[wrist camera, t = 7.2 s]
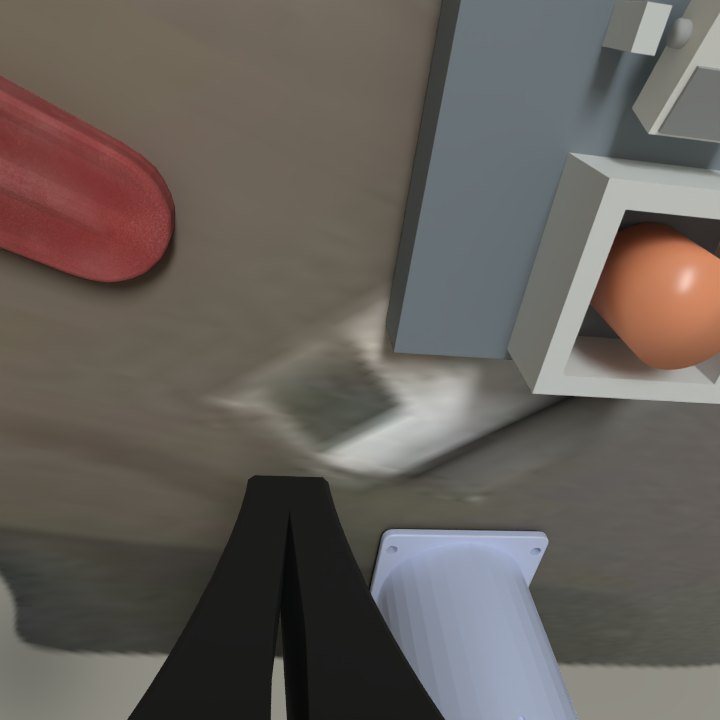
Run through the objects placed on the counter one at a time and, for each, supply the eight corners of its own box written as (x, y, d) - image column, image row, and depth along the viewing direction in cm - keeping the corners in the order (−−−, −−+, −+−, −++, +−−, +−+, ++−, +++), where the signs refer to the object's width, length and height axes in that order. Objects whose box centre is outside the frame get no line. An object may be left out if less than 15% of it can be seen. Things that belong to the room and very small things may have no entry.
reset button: (661, 321, 19) (717, 373, 16) (570, 314, 18) (613, 366, 16) (705, 227, 17) (774, 269, 15) (606, 217, 17) (660, 258, 14)
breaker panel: (665, 342, 22) (740, 414, 19) (386, 322, 21) (405, 397, 17) (845, -31, 16) (1015, -35, 12) (461, -102, 14) (519, -132, 10)
